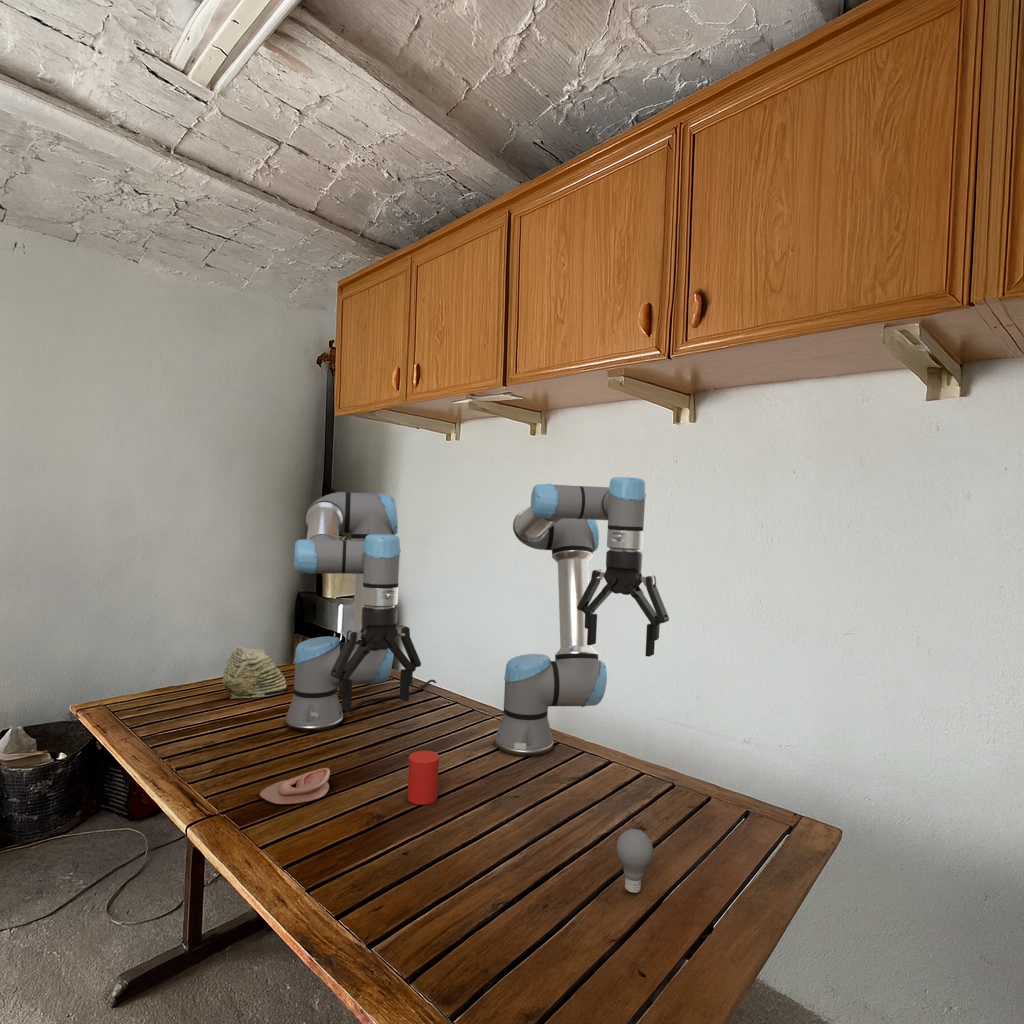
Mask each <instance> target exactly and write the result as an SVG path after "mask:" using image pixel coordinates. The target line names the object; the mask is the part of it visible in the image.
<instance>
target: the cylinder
mask: <svg viewBox="0 0 1024 1024" xmlns="http://www.w3.org/2000/svg"><path fill="white" fill-rule="evenodd" d="M439 768H440V754H438V753H437V752H435V751H432V750H418V751H417V750H416V751H414V752H412V753H410V754H409V756H408V770H407V771H408V773H407V774H408V775H407V795H406V797H407V801H408V802H409V803H412V804H413V805H417V806H418V805H419V806H426V805H430V804H433V803H435V802H436V801H437V800H438V794H439V793H438V792H439V790H438V789H439V771H440V770H439Z"/></svg>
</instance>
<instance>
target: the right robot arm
mask: <svg viewBox="0 0 1024 1024" xmlns="http://www.w3.org/2000/svg"><path fill="white" fill-rule="evenodd" d="M646 497H647V493H646V482H645V480H644V479H643V478H641V477H631V476H630V477H629V476H615V477H612V478H611V479H610V481H609V486H608V487H607V486H593V485H592V486H590V485H589V486H588V485H569V484H552V483H542V484H540V483H539V484H535V485H534V486H533V487H532V491H531V495H530V506H529V507H525V508H522V509H521V510H520V511H519V512H517V513H516V515H515V517H514V519H513V522H512V530H513V534H514V535H515V537H516V538H517V540H519V542H520V543H522V544H523V545H525V546H527V547H528V548H531V549H535V550H539V551H551V558H552V559H553V560H554V561H555V562H556V563H557V580H558V582H557V584H558V585H557V586H558V614H559V645H560V648H559V649H558V650H557V652H556V653H555V654H554V660H551V658H550V656H549V655H547V654H544V653H539V654H538V653H525V654H520V655H517V656H514V657H512V658H510V659H509V660H508V661H507V663H506V665H505V671H504V693H503V714H502V717H501V720H500V723H499V726H498V728H497V731H496V734H495V740H494V744H495V747H496V748H497V749H498V750H500V751H501V752H504V753H506V754H509V755H513V756H519V757H535V756H536V757H537V756H542V755H546V754H548V753H550V752H551V751H552V750H553V748H554V736H553V734H552V729H551V726H550V725H551V724H550V722H549V717H548V716H549V715H548V712H549V710H548V709H549V707H581V708H585V707H594V706H597V705H599V704H600V703H601V702H602V701H603V699H604V696H605V693H606V690H607V682H608V681H607V680H608V670H607V665H606V663H605V662H604V661H602V660H599V653H598V652H597V651H596V649H594V648H593V645H596V644H597V629H598V627H597V626H598V613H596V612H595V611H596V610H597V609H598V608H599V607H600V606H601V605H602V604H603V602H605V601H606V599H608V597H610V595H611V594H612V593H613V594H617V595H618V594H622V595H625V596H629V595H630V596H631V598H632V599H634V600H635V602H636V603H637V605H638V606H639V607H640V610H641V611H642V612H643V614H644V615H645V617H646V618H647V620H648V622H649V623H647V624H646V633H645V634H646V635H645V655H644V656H645V657H649V658H650V657H652V656H654V655H655V644H656V643H655V642H656V641H658V640H659V638H660V629H661V628H660V626H661V624H665V623H667V622H669V621H670V617H669V614H668V612H667V609H666V607H665V604H664V602H663V599H662V597H661V594H660V592H659V589H658V587H657V577H656V576H655V575H654V574H652V575H647V576H643V575H642V568H643V553H642V552H641V550H642V549H644V525H645V509H646ZM597 521H607V532H606V533H607V536H606V547H607V548H608V550H607V551H606V552H605V571H602V569H594V570H592V571H591V577H590V576H589V575H590V574H589V562H590V560H592V558H593V557H594V552H596V551H597V550H598V548H599V544H600V541H599V540H600V531H599V530H600V529H599V525H598V522H597ZM603 580H605V582H606V584H605V585H604V586H603V588H602V589H601V590H600V592H599V593H598V594H597V595H596V596H595V597H594V595H595V594H596V591H597V590H598V588H599V585H600V583H601V581H603ZM642 583H643V585H644V586H645V587H646V591H647V594H648V596H649V598H650V601H651V603H650V602H649V601H648V599H647V597H646V595H644V591H643V589H642V588H641V587H640V585H641V584H642ZM593 597H594V598H593ZM592 599H593V600H592ZM651 604H652V605H651Z"/></svg>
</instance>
